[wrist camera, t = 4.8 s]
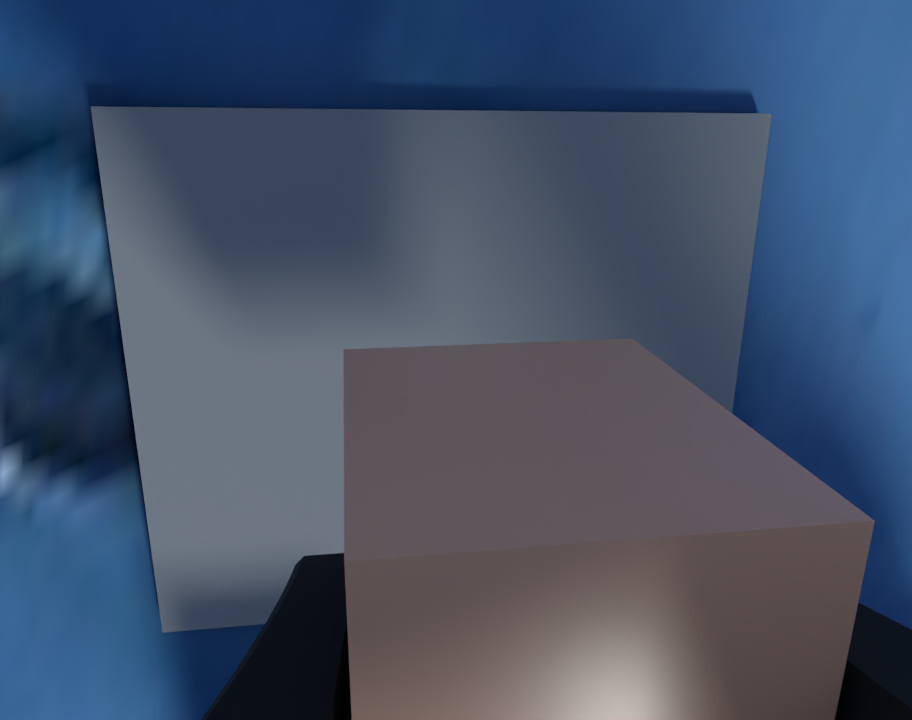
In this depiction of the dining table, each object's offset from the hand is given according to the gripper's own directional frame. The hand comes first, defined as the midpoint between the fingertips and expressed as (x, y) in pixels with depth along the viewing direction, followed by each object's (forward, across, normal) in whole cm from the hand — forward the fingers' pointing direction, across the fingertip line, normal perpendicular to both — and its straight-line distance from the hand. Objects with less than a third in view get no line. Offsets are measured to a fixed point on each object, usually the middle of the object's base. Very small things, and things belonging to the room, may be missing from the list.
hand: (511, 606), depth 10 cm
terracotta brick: (+2, 0, 0) cm, 2 cm away
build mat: (+8, 0, 0) cm, 8 cm away
